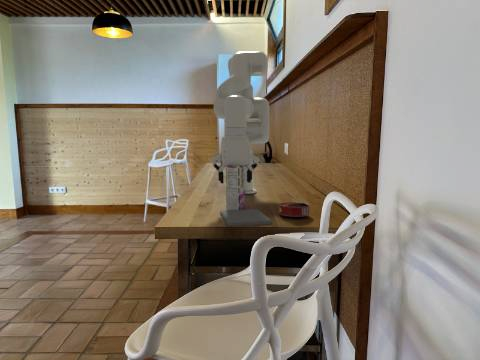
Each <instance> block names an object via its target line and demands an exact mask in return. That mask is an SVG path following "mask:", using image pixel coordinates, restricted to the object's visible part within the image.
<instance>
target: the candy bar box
mask: <svg viewBox="0 0 480 360" xmlns="http://www.w3.org/2000/svg"><path fill="white" fill-rule="evenodd" d="M225 186H226V189H225V191H226V192H225V194H226V201H225V202H226V210H244V208H245V207H246V200H245V199H246V198H245V197H246V194H245V166H226V167H225Z"/></svg>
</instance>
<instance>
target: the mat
mask: <svg viewBox="0 0 480 360" xmlns="http://www.w3.org/2000/svg"><path fill="white" fill-rule="evenodd" d="M219 213H220V216H221V217H222V218H223V221H225V223H226V225H227V227H241V226H256V225H257V226H258V225H271V224H272V220H271V219H270V217H267V215H265V214H264V213H263V212H262V211H261V210H259V208H249V209H247V208H246V209H243V210H227V209H225V210H220V211H219Z"/></svg>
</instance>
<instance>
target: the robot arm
mask: <svg viewBox="0 0 480 360" xmlns="http://www.w3.org/2000/svg"><path fill="white" fill-rule="evenodd" d="M227 61H228V62H227V71H228V73H229V74H228V75H229V77H228V78H227V79H225V80H224V81H223V82H222V83H220V85H219V86H218V87H217V88H216V91H215V93H214V94H215V95H214V102H213V114H214V116H215V117H216V118H218V119H219V120H224V122H223V124H224V129H223V130H224V133H223V134H224V137H221V143H220V151H219V152H220V153H219V154H217V155H216V156H214V157H211V158H210V163H211V164H212V167H213V168H215V170H217V172H218V173H217V174H218V175H217V177H218V181H219V183H220V184H224V181H225V180H224V171H223V170H225V169H226V167H227V166H245V195H251V194H256V193H257V189H256V188H254V170H255V169H256V168H257V167H258V164H259V162H260V158H259V157H258V156H256V155H254V152H253V151H252V149H251V146H250V144H266V143H268V142H269V140H270V134H271V133H270V131H271V130H270V126H271V124H270V123H271V122H270V120H271V119H270V113H271V112H270V111H271V110H270V103H269V101H268V100H267V99H266V98H265V97H254V87H253V85H252V84H251V83H252V77H263V76H266V74H267V73H268V68H269V64H268V63H269V62H268V57H267V55H266V54H265V52H264V51H257V50H256V51H238V52H235V53H234V54H233V55H232V57H230V58H229V59H228V60H227ZM247 120H248V121H247ZM249 120H251V121H249ZM252 120H253V121H252ZM254 120H255V121H254ZM256 120H258V121H256ZM218 160H219V163H220V165H218V164H217V161H218Z"/></svg>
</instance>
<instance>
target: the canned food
mask: <svg viewBox="0 0 480 360" xmlns="http://www.w3.org/2000/svg"><path fill="white" fill-rule="evenodd" d="M281 189H282V190H283V191H284V193H286V194H287V195H288V196H289V197H290V198H291V199H294V200H296V201H298V202H281V203H279V204H278V214H279V215H281V216H284V217H293V218H294V217H295V218H296V217H307V216H309V215H310V204H308V203H305V202H303V201H301V200H299V199H298V198H296V197H293V196H292V195H291V194H290V193H288V192H287V191H286V190H285V189H284V188H283V187H281Z"/></svg>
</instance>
